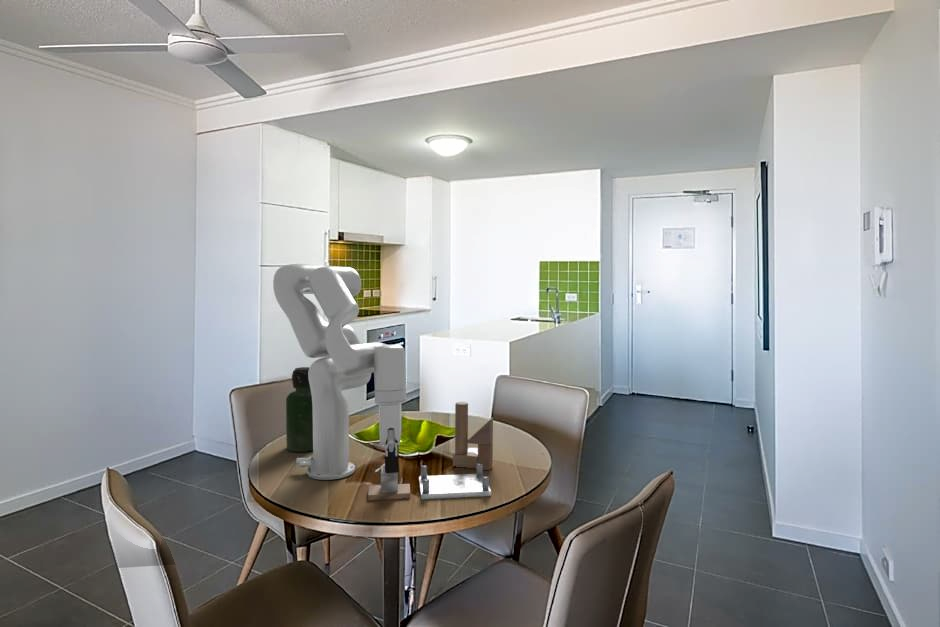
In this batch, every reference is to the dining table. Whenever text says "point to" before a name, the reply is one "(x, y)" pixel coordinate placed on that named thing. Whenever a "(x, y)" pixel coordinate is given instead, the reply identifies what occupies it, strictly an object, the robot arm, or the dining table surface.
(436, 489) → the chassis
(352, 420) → the dining table surface
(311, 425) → the green bottle
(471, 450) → the butcher knife
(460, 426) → the wooden block
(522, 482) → the dining table surface
